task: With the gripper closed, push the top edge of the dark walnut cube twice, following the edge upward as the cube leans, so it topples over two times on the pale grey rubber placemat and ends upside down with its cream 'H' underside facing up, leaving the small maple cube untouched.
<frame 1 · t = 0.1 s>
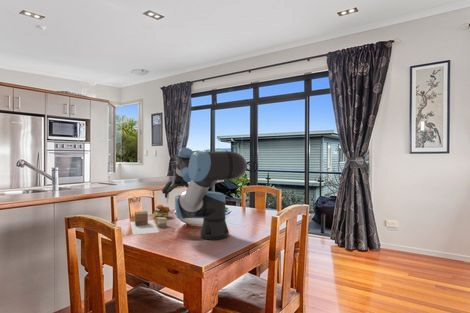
hand: (178, 200, 179), 15 cm above the table, fingers open, 13 cm apart
walnut block: (141, 224, 182), resting on placemat
placemat: (143, 227, 176), on the table
cheeseburger: (161, 218, 202), on the table
maple block: (160, 226, 178), on the table, touching placemat
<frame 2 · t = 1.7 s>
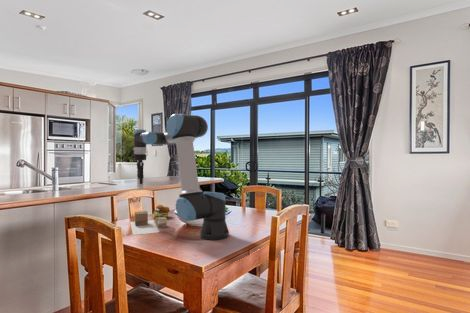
hand: (140, 188, 191), 21 cm above the table, fingers open, 11 cm apart
nothing on the table moved.
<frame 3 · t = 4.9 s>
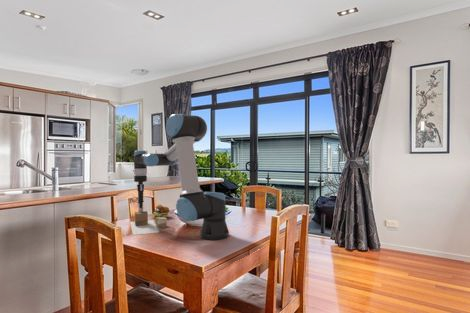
hand: (140, 213, 186), 6 cm above the table, fingers closed
walnut block: (141, 224, 182), resting on placemat, touching gripper
everything else where it was.
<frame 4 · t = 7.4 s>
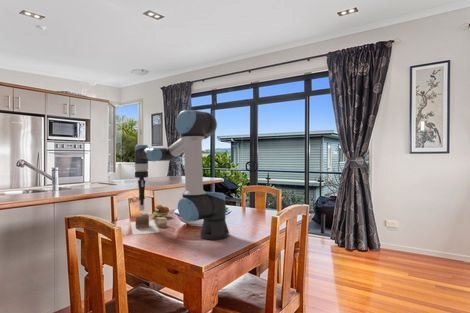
hand: (141, 210, 178), 10 cm above the table, fingers closed
walnut block: (141, 219, 179), point 4 cm above the table, tilted 90°, touching placemat
everything else where it was.
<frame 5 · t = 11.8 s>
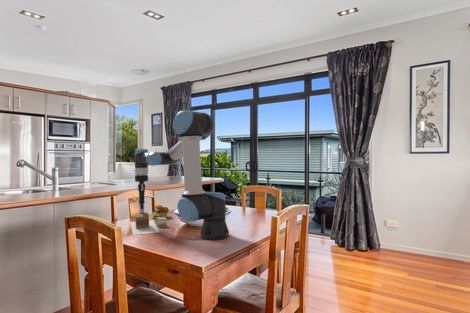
hand: (141, 214, 179), 7 cm above the table, fingers closed
walnut block: (141, 218, 179), point 5 cm above the table, tilted 97°, touching gripper, placemat
everything else where it was.
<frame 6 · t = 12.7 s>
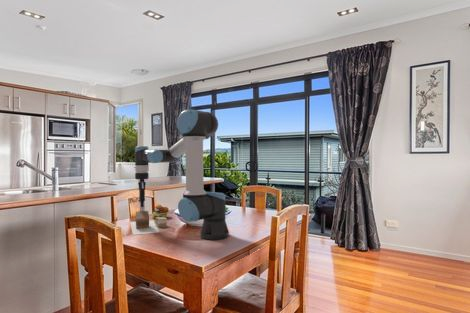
hand: (142, 212, 177), 9 cm above the table, fingers closed
walnut block: (141, 215, 177), point 7 cm above the table, tilted 115°, touching gripper, placemat
everything else where it was.
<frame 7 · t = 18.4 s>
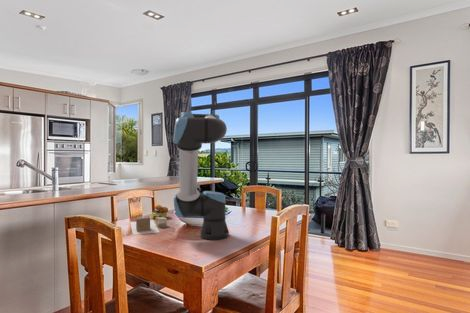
hand: (186, 176, 182), 29 cm above the table, fingers closed
walnut block: (143, 217, 169), point 8 cm above the table, tilted 180°, touching placemat
at the end: walnut block tilted 180°; walnut block inside the target area (0.0 cm from its centre), point 7.5 cm above the table; maple block moved 0.2 cm from its start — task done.
